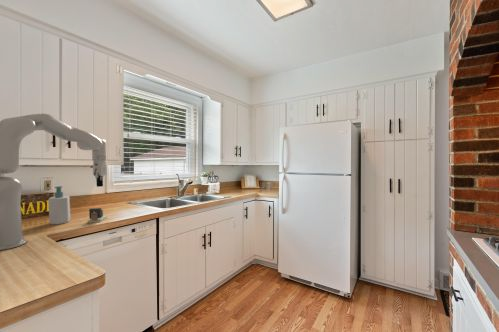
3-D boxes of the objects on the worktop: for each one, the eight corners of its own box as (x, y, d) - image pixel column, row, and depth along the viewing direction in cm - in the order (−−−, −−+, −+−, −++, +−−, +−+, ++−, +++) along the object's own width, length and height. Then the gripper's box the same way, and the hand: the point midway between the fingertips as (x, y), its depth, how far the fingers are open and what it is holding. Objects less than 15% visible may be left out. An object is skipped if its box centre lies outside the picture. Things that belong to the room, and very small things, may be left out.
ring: (89, 218, 146) (89, 209, 146) (90, 217, 148) (90, 208, 148) (100, 218, 147) (100, 208, 147) (101, 217, 149) (101, 207, 149)
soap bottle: (67, 219, 153) (66, 185, 152) (73, 221, 148) (71, 186, 146) (47, 223, 145) (45, 186, 143) (52, 225, 139) (50, 188, 138)
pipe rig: (87, 222, 145) (87, 212, 145) (94, 218, 155) (94, 208, 154) (100, 221, 147) (100, 212, 146) (106, 217, 156) (106, 208, 156)
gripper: (101, 158, 148) (101, 187, 149) (109, 158, 163) (110, 184, 164) (87, 158, 147) (88, 188, 147) (97, 158, 161) (97, 185, 162)
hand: (99, 186), depth 155 cm, fingers closed
